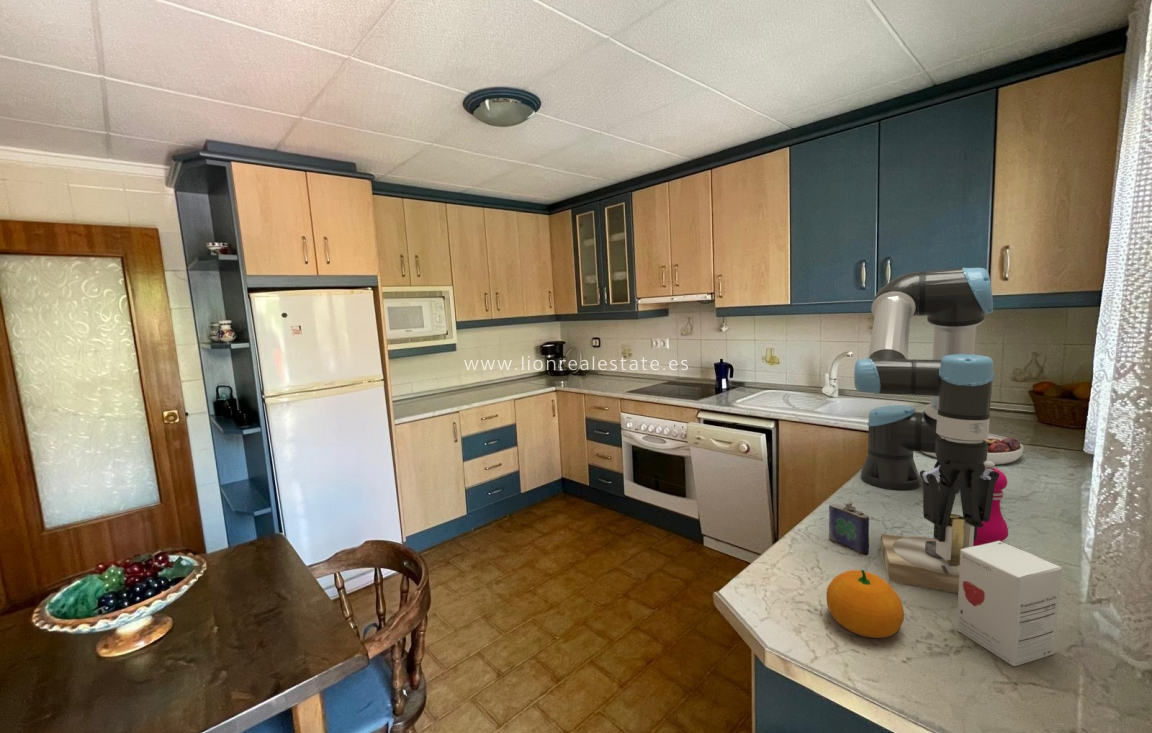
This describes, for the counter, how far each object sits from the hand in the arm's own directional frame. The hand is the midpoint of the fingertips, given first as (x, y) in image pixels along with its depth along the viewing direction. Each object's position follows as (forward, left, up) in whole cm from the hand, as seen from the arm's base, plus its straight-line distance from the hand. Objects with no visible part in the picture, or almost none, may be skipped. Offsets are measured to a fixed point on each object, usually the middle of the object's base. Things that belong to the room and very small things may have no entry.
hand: (953, 555), depth 90 cm
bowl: (-95, +24, -8) cm, 99 cm away
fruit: (+17, -16, -7) cm, 25 cm away
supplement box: (+14, +4, -7) cm, 16 cm away
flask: (-12, -17, -7) cm, 22 cm away
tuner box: (-6, -1, -7) cm, 9 cm away
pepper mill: (-21, +11, -7) cm, 25 cm away
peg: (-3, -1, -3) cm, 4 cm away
